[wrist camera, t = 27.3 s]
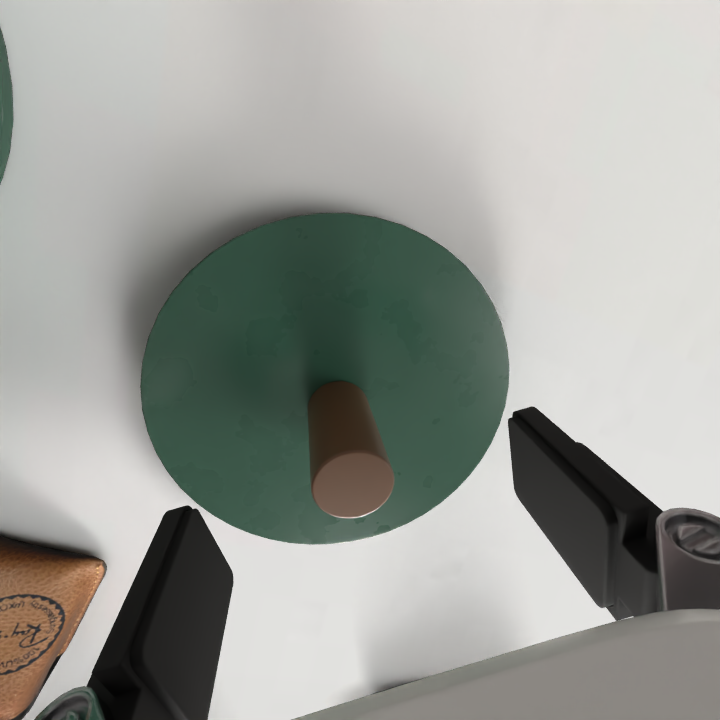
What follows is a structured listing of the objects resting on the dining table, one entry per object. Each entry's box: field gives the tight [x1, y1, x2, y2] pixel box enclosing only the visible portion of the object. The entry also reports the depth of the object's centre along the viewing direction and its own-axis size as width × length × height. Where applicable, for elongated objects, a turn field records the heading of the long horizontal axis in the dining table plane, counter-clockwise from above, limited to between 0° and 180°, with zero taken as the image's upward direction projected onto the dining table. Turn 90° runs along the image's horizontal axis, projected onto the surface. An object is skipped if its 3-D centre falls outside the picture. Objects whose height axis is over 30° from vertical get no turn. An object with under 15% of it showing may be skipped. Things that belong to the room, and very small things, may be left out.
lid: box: [140, 213, 509, 544], centre depth 14 cm, size 16×16×6 cm
